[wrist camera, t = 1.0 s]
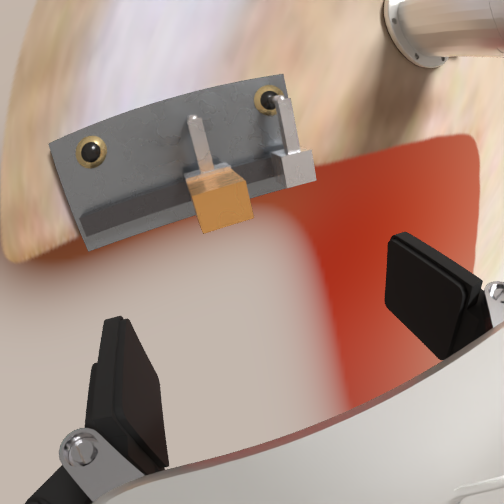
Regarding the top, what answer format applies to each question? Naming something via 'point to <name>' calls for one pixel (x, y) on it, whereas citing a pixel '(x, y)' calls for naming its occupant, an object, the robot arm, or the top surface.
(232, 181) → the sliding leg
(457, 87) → the top surface
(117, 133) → the base
